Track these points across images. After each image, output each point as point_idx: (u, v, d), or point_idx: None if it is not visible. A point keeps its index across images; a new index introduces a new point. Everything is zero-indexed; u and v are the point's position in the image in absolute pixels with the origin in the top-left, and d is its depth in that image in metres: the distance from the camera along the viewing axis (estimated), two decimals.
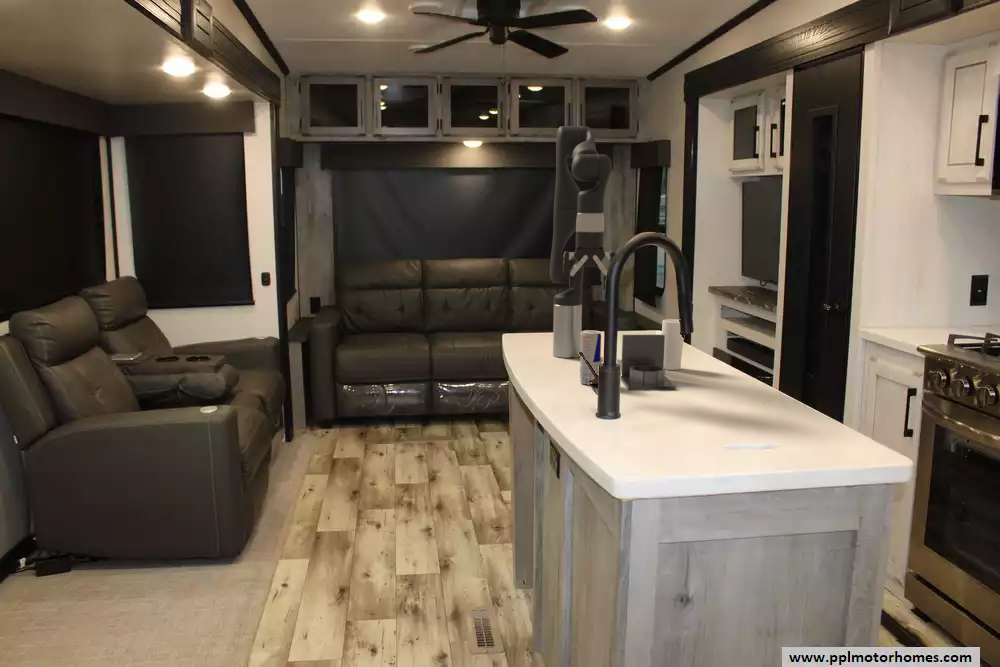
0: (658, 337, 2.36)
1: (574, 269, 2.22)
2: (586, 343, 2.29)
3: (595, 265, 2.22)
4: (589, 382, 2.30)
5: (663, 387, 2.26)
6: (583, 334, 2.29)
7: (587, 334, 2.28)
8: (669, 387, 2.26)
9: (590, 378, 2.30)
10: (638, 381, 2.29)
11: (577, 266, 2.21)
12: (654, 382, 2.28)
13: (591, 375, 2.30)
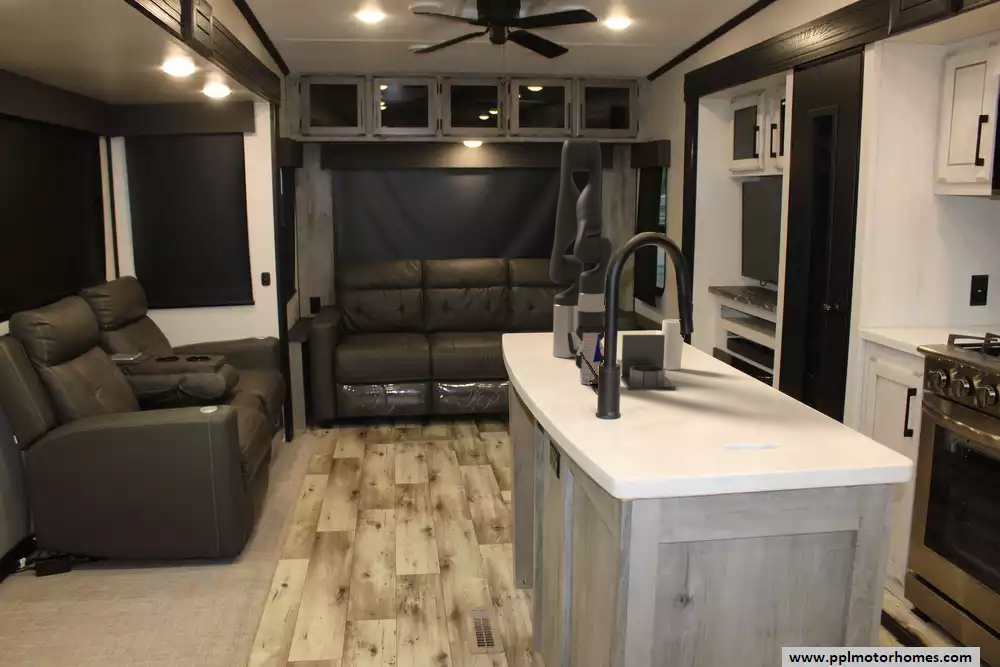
0: (658, 337, 2.36)
1: (579, 349, 2.30)
2: (586, 343, 2.29)
3: None
4: (589, 382, 2.30)
5: (663, 387, 2.26)
6: (583, 334, 2.29)
7: (587, 334, 2.28)
8: (669, 387, 2.26)
9: (590, 378, 2.30)
10: (638, 381, 2.29)
11: (581, 345, 2.29)
12: (654, 382, 2.28)
13: (591, 375, 2.30)
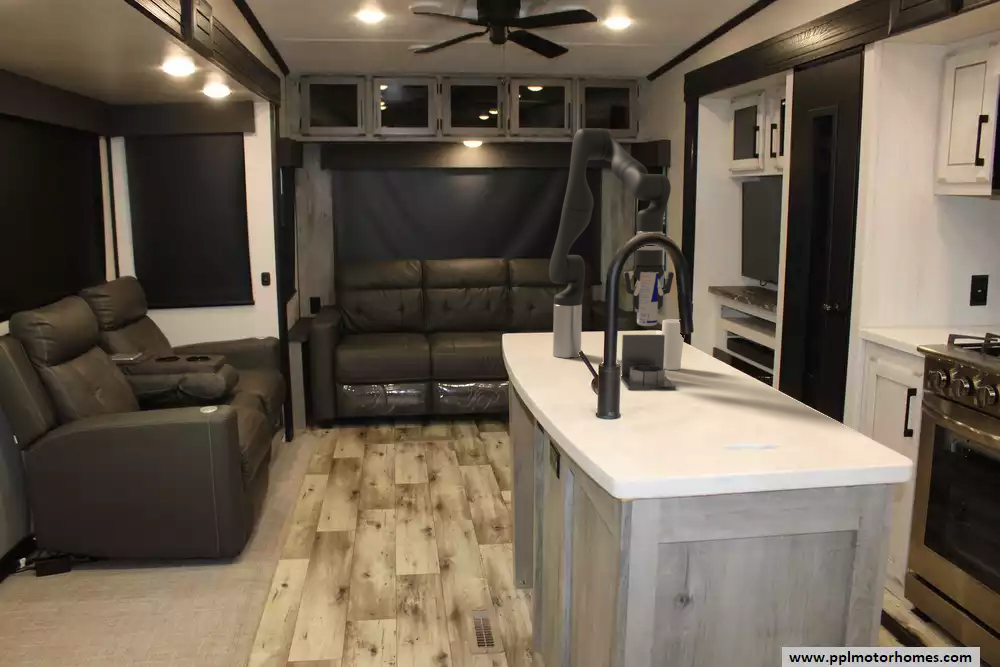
0: (658, 337, 2.36)
1: (637, 288, 2.26)
2: (644, 283, 2.25)
3: None
4: (647, 322, 2.26)
5: (663, 387, 2.26)
6: (641, 273, 2.26)
7: (645, 273, 2.25)
8: (669, 387, 2.26)
9: (647, 318, 2.26)
10: (638, 381, 2.29)
11: (639, 285, 2.26)
12: (654, 382, 2.28)
13: (649, 315, 2.26)
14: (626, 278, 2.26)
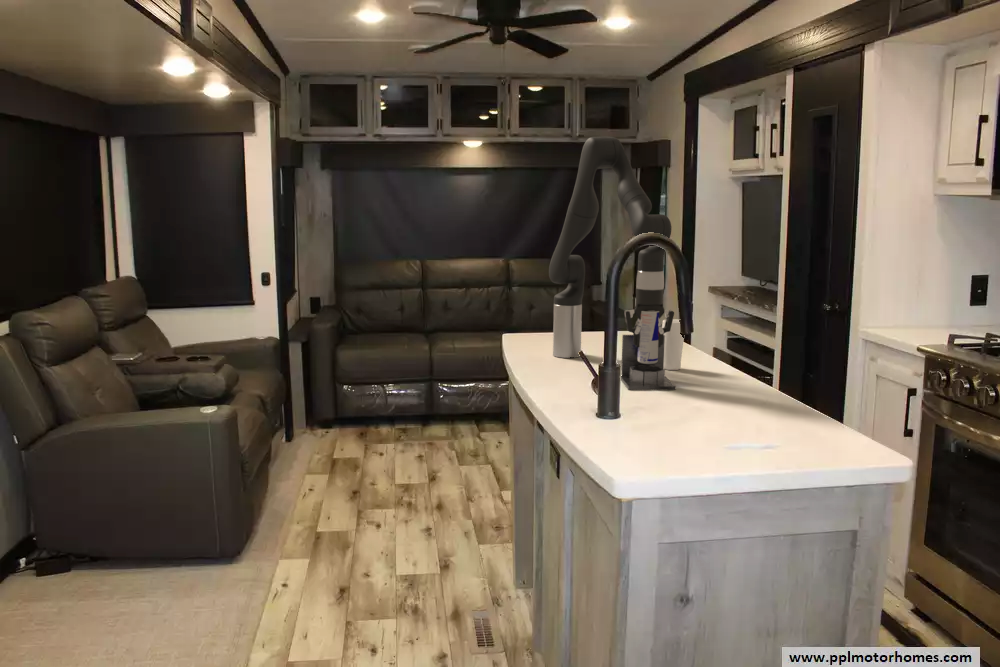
0: None
1: (637, 327, 2.28)
2: (645, 321, 2.27)
3: None
4: (647, 361, 2.29)
5: (663, 387, 2.26)
6: (642, 312, 2.28)
7: (646, 312, 2.27)
8: (669, 387, 2.26)
9: (648, 356, 2.28)
10: (638, 381, 2.29)
11: (640, 324, 2.28)
12: (654, 382, 2.28)
13: (649, 354, 2.28)
14: (627, 317, 2.28)
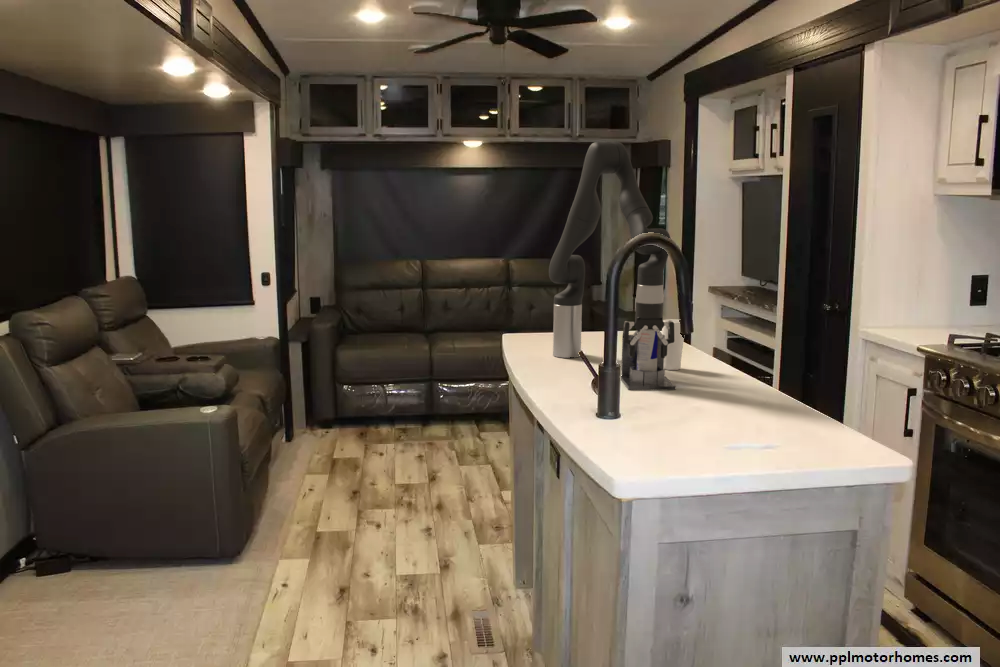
0: None
1: (634, 338, 2.29)
2: (643, 340, 2.28)
3: None
4: None
5: (663, 387, 2.26)
6: None
7: (644, 331, 2.27)
8: (669, 387, 2.26)
9: None
10: (638, 381, 2.29)
11: (637, 336, 2.28)
12: (654, 382, 2.28)
13: None
14: (626, 327, 2.28)
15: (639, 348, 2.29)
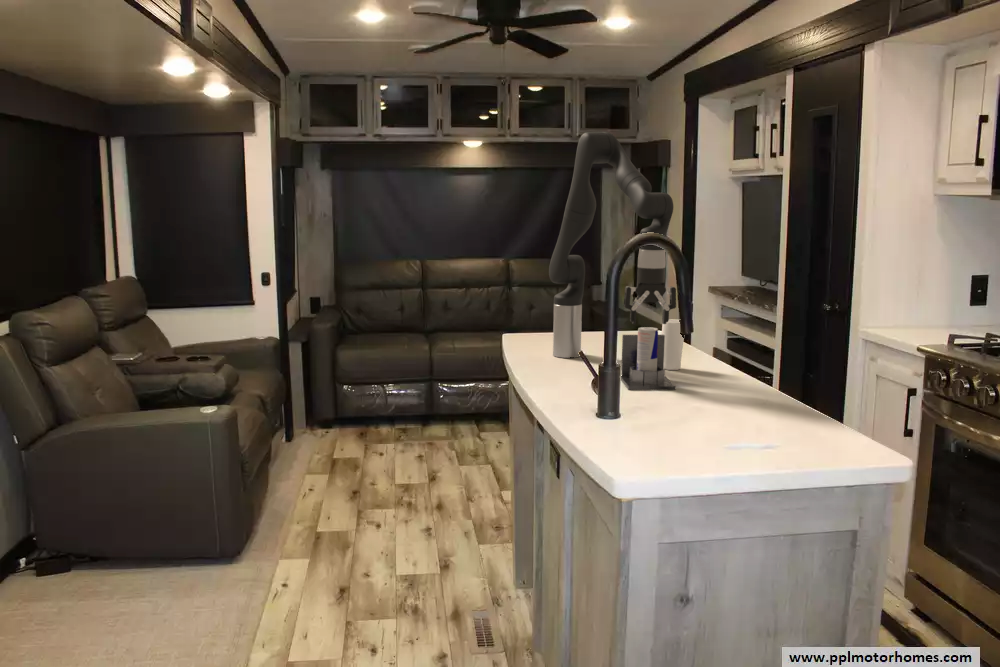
0: (658, 337, 2.36)
1: (635, 304, 2.27)
2: (643, 340, 2.28)
3: (656, 300, 2.27)
4: None
5: (663, 387, 2.26)
6: (640, 331, 2.29)
7: (645, 331, 2.28)
8: (669, 387, 2.26)
9: None
10: (638, 381, 2.29)
11: (639, 301, 2.27)
12: (654, 382, 2.28)
13: None
14: (627, 293, 2.27)
15: (639, 348, 2.30)
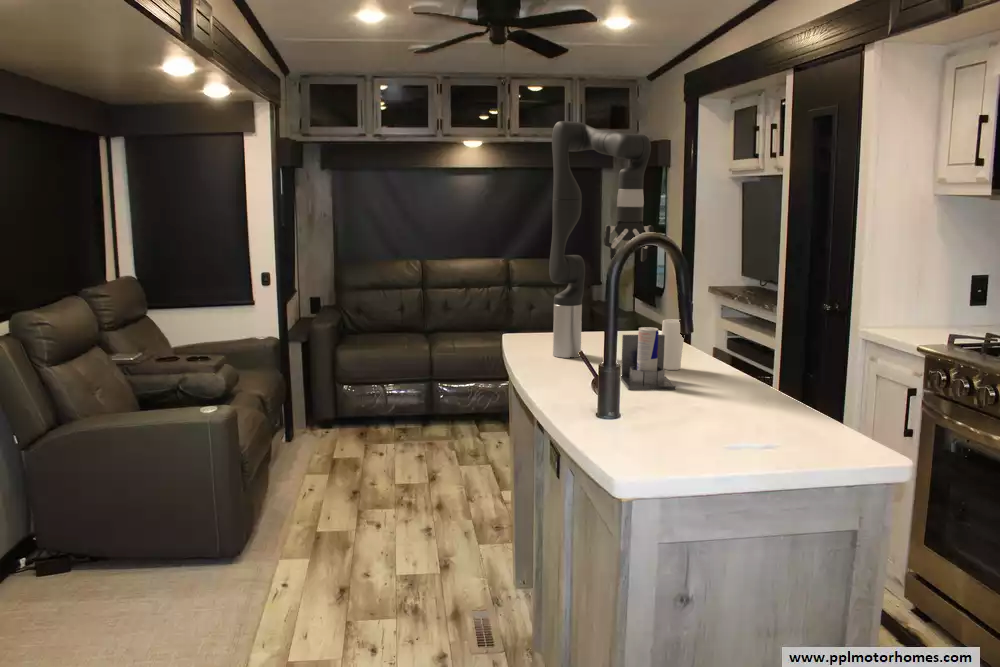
0: (658, 337, 2.36)
1: (615, 242, 2.37)
2: (644, 340, 2.28)
3: None
4: None
5: (663, 387, 2.26)
6: (641, 331, 2.29)
7: (645, 331, 2.28)
8: (669, 387, 2.26)
9: None
10: (638, 381, 2.29)
11: (618, 239, 2.36)
12: (654, 382, 2.28)
13: None
14: (607, 231, 2.36)
15: (639, 348, 2.29)
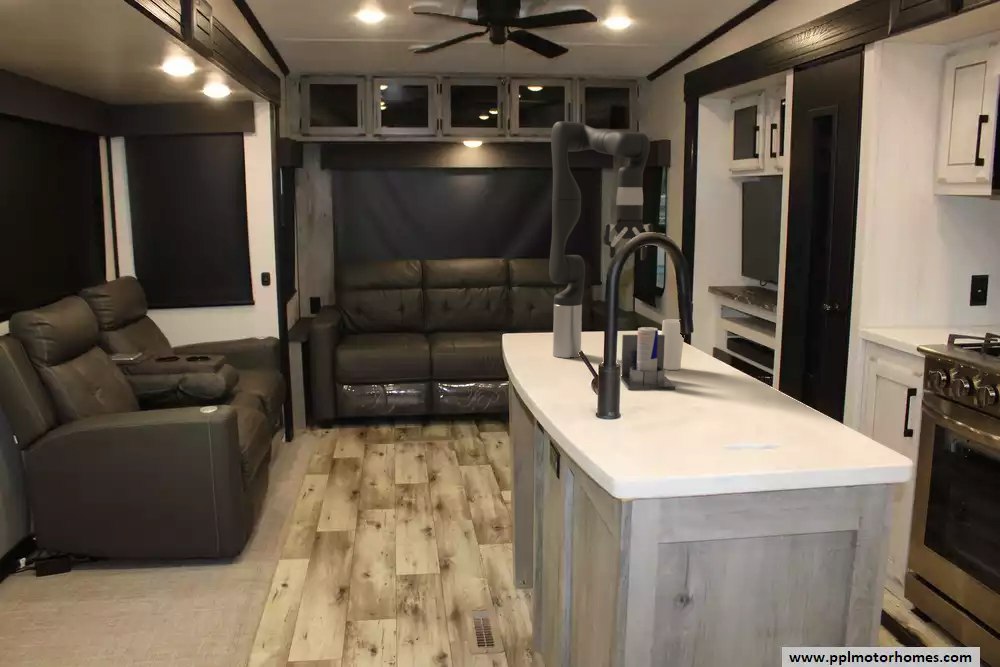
0: (658, 337, 2.36)
1: (615, 240, 2.37)
2: (643, 340, 2.28)
3: (634, 236, 2.37)
4: None
5: (663, 387, 2.26)
6: (640, 331, 2.29)
7: (645, 331, 2.28)
8: (669, 387, 2.26)
9: None
10: (638, 381, 2.29)
11: (617, 237, 2.36)
12: (654, 382, 2.28)
13: None
14: (606, 229, 2.36)
15: (639, 348, 2.29)
